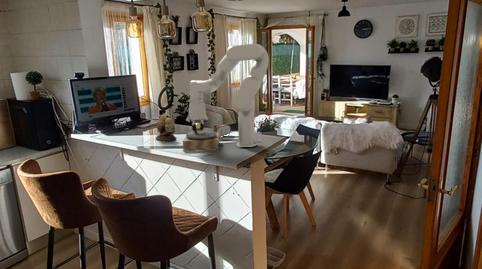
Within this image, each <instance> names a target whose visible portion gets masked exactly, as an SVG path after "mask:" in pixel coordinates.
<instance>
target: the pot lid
mask: <svg viewBox="0 0 482 269" xmlns="http://www.w3.org/2000/svg"><path fill="white" fill-rule="evenodd" d="M194 125H195V131H193V130H192V131H189V132H187V133H186V134H185V136H186V137H187V138H189V139H210V138H214V137H216V132H214V130H206V129H203V130H201V122H194Z"/></svg>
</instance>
